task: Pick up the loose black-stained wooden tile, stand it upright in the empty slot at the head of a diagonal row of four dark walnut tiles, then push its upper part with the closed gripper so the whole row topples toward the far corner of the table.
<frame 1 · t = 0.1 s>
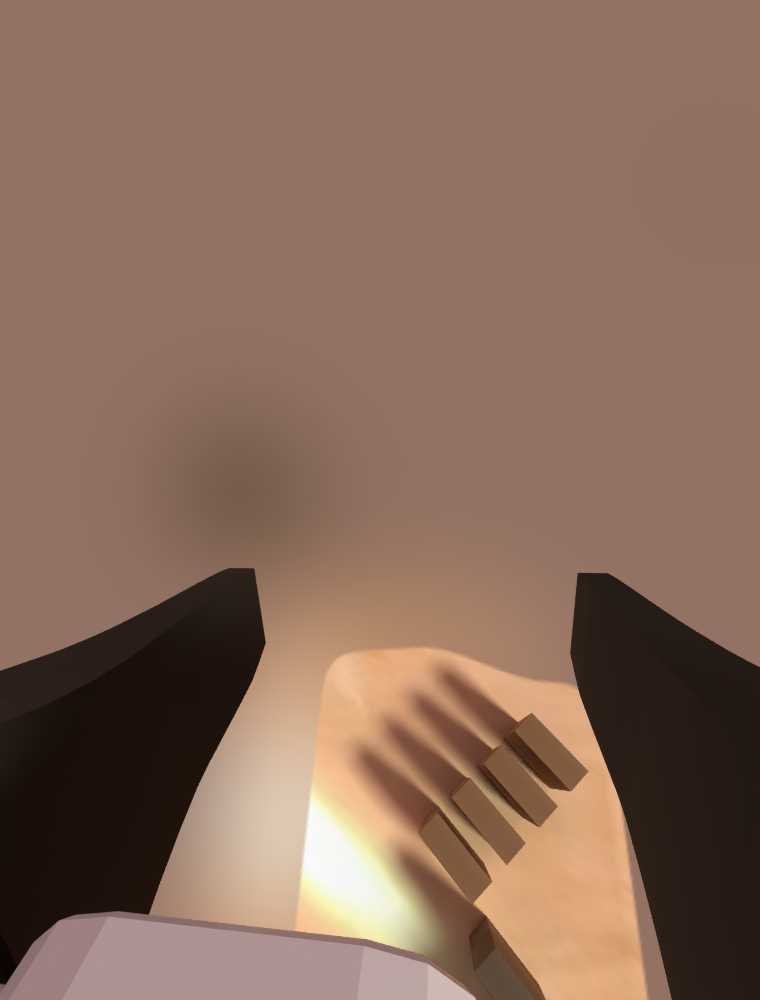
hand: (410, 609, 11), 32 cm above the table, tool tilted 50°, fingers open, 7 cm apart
tile4: (507, 782, 37), on the table
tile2: (452, 842, 36), on the table
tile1: (503, 959, 33), on the table
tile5: (533, 754, 38), on the table
tile3: (480, 812, 37), on the table
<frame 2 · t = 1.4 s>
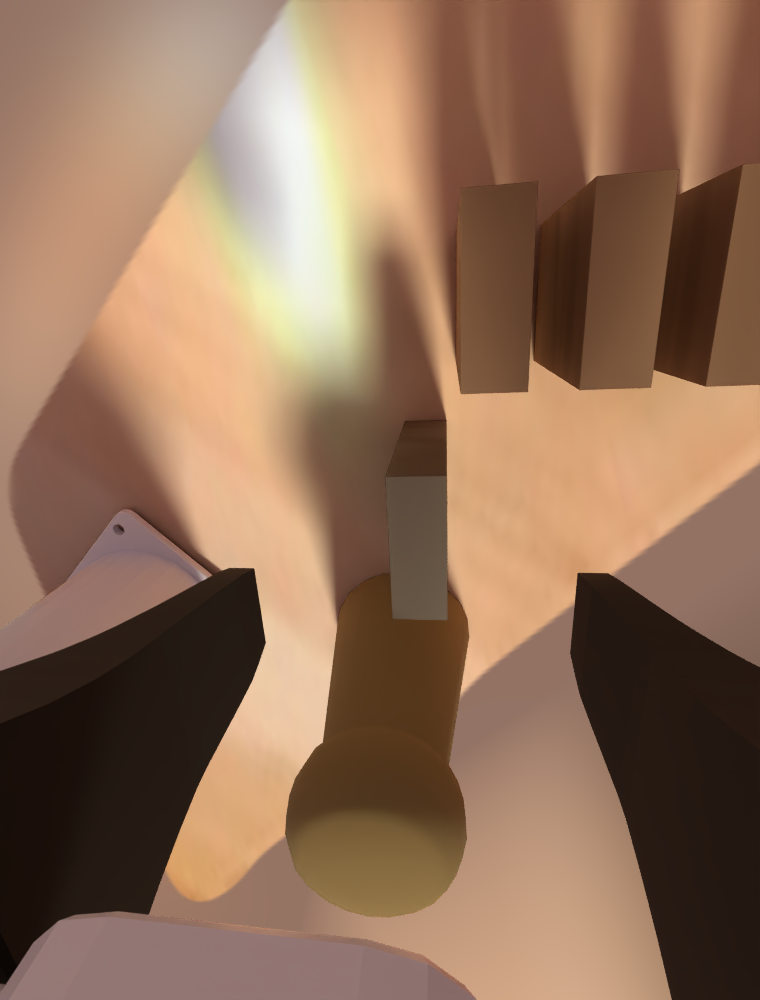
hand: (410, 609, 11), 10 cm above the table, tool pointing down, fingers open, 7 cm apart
tile4: (646, 289, 17), on the table
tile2: (479, 299, 18), on the table
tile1: (426, 474, 21), on the table
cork: (402, 628, 24), on the table
tile3: (560, 294, 18), on the table
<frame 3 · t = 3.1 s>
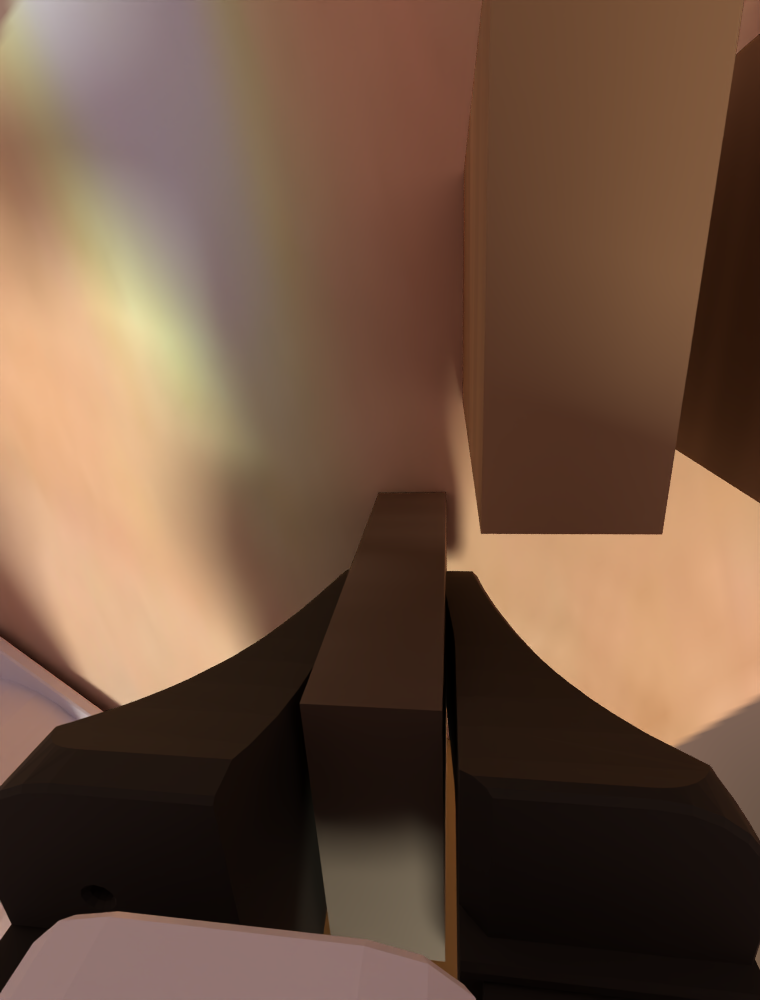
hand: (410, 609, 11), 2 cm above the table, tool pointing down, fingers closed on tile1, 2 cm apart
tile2: (503, 292, 10), on the table
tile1: (414, 574, 13), on the table, touching gripper
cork: (381, 783, 16), on the table
tile3: (649, 284, 10), on the table
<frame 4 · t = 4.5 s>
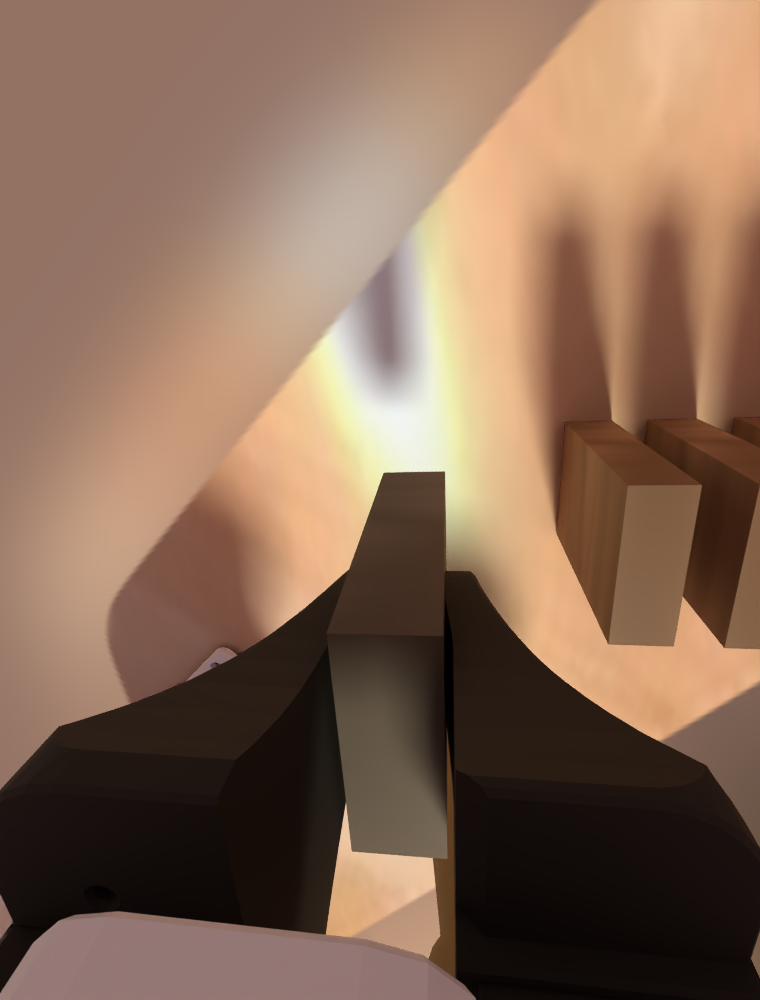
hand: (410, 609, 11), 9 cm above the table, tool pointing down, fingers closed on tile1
tile4: (746, 478, 18), on the table
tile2: (583, 479, 19), on the table
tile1: (417, 547, 14), point 6 cm above the table, touching gripper
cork: (486, 757, 25), on the table
tile3: (663, 479, 19), on the table
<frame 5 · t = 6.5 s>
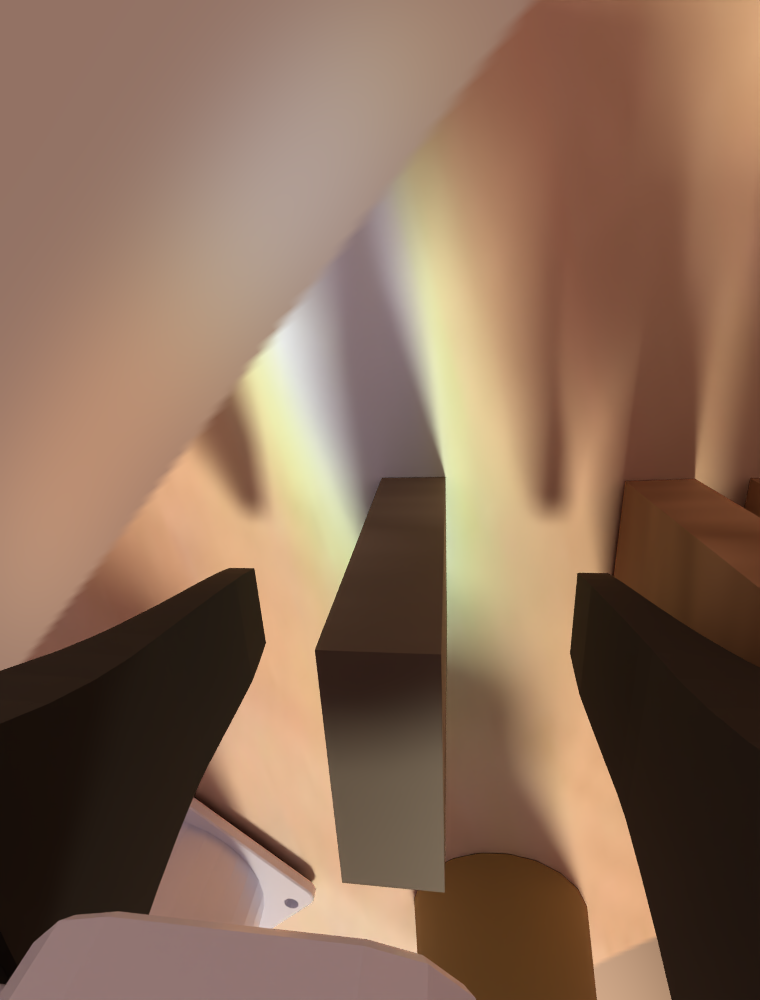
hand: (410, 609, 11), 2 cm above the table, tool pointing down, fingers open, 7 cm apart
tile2: (647, 563, 13), on the table, touching gripper
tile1: (415, 555, 14), on the table
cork: (498, 906, 18), on the table
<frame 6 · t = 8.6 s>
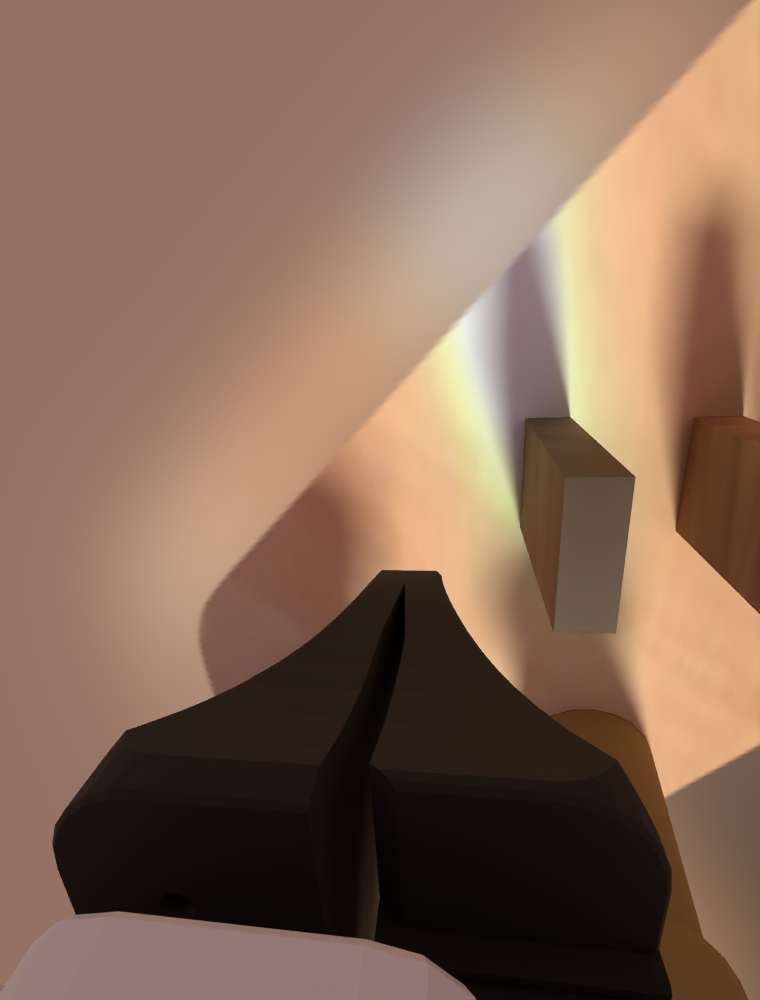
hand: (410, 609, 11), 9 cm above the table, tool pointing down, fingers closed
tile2: (708, 476, 19), on the table
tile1: (544, 475, 20), on the table
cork: (582, 757, 24), on the table
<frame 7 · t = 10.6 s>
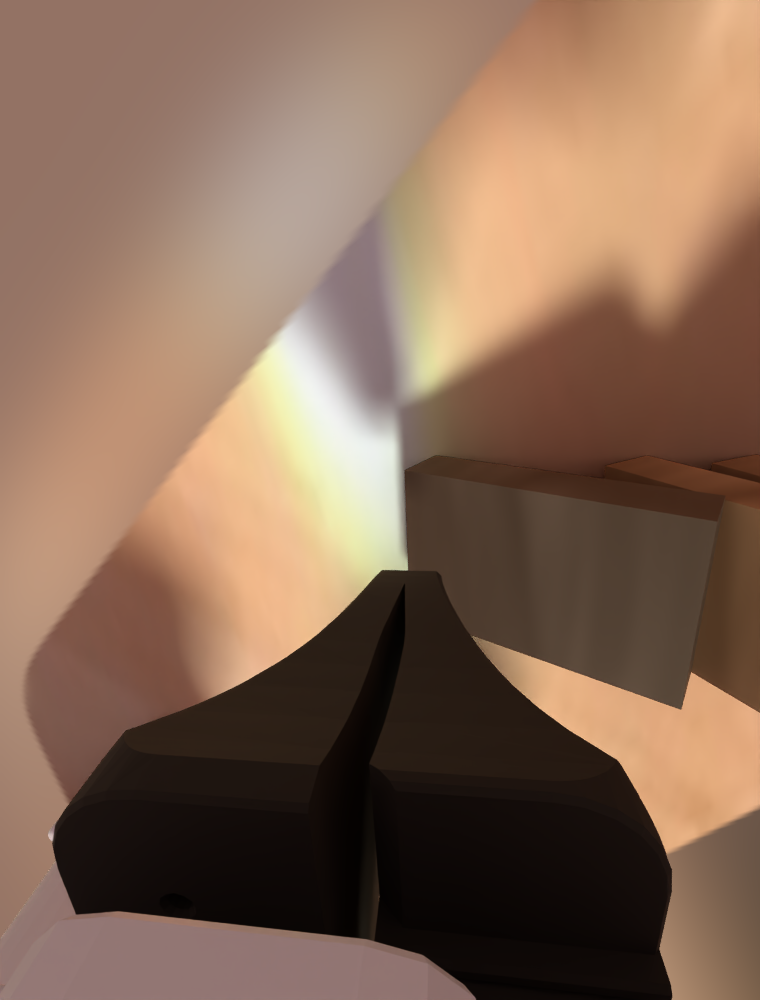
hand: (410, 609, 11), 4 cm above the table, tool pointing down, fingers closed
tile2: (617, 535, 14), on the table, tilted 34°
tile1: (422, 535, 15), point 1 cm above the table, tilted 61°
tile3: (719, 535, 14), on the table, tilted 27°, touching tile4
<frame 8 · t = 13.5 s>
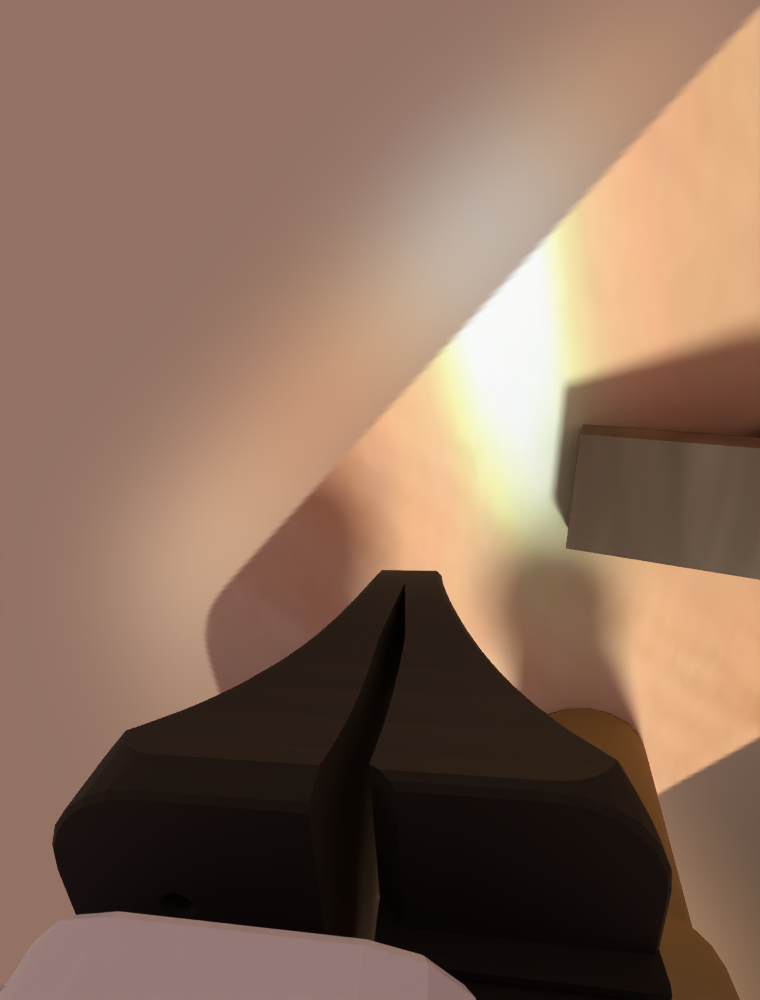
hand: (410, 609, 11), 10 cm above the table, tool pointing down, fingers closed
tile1: (574, 486, 19), point 1 cm above the table, tilted 73°, touching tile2
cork: (578, 754, 25), on the table
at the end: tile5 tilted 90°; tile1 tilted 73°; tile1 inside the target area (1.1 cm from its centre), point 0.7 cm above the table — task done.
